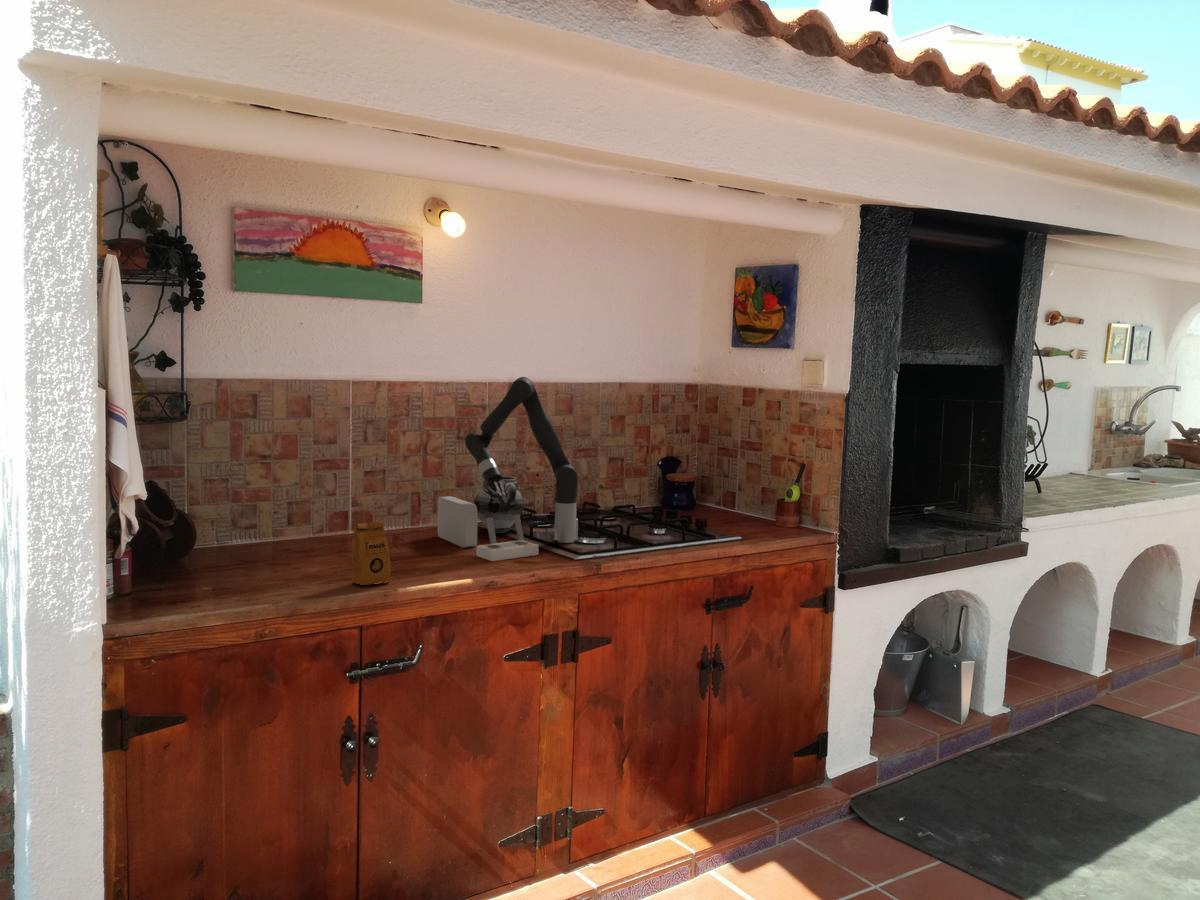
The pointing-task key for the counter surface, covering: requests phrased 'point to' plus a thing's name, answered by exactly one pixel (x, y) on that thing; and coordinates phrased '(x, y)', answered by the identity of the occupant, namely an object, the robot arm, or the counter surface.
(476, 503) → the ceramic pot
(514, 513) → the lever
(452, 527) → the rounded white slab
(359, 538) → the coffee package
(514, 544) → the switch unit
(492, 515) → the lever
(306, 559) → the counter surface
